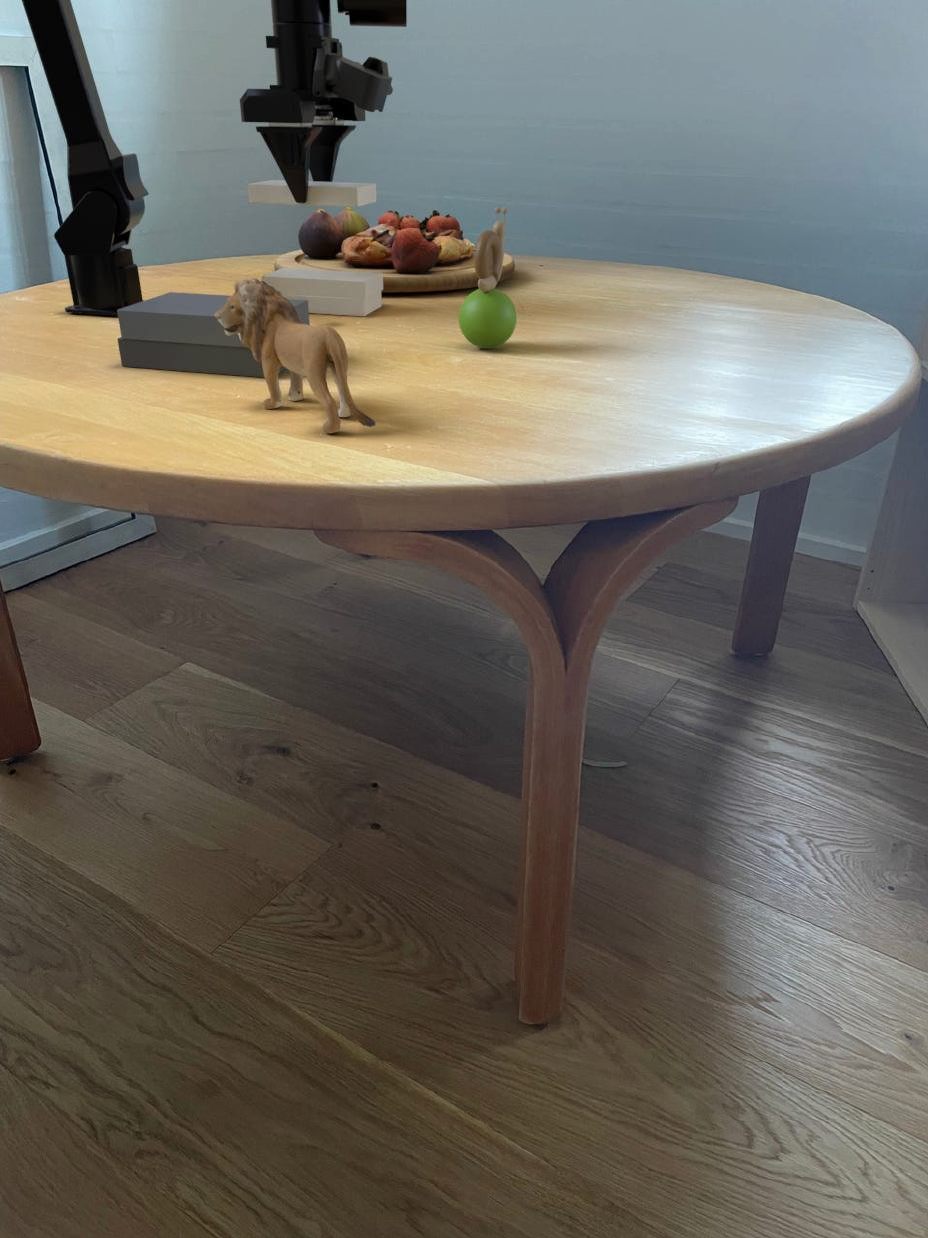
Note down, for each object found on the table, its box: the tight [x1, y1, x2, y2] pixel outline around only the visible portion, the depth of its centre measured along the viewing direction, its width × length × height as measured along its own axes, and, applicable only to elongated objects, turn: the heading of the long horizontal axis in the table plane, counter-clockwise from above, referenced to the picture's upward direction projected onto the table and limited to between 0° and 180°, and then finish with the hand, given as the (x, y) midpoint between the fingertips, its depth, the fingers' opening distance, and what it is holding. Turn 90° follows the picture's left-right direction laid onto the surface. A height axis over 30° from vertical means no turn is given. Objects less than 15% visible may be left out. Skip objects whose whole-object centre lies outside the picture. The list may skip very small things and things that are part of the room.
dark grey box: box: [117, 291, 311, 379], centre depth 81 cm, size 14×9×5 cm, turn 76°
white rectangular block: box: [247, 179, 378, 208], centre depth 97 cm, size 12×6×2 cm, turn 76°
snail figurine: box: [458, 206, 518, 349], centre depth 85 cm, size 5×6×12 cm
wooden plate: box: [273, 207, 516, 293], centre depth 122 cm, size 32×32×8 cm
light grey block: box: [261, 268, 383, 317], centre depth 103 cm, size 12×6×4 cm, turn 76°
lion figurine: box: [215, 277, 376, 434], centre depth 66 cm, size 15×5×9 cm, turn 50°
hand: (312, 200), depth 97 cm, fingers closed on white rectangular block, 6 cm apart
